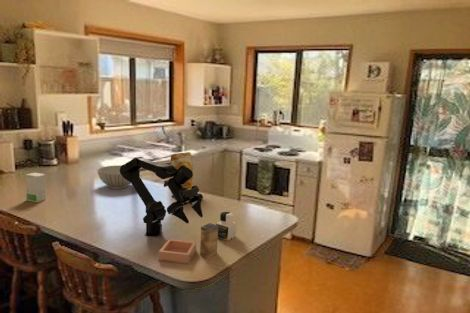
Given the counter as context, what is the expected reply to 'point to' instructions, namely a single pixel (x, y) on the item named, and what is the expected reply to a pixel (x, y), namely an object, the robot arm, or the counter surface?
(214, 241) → the brown rectangular block
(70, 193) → the counter surface
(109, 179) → the decorative bowl
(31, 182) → the skincare box
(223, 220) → the medicine bottle
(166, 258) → the pink square tray
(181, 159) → the pancake mix bag
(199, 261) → the counter surface
